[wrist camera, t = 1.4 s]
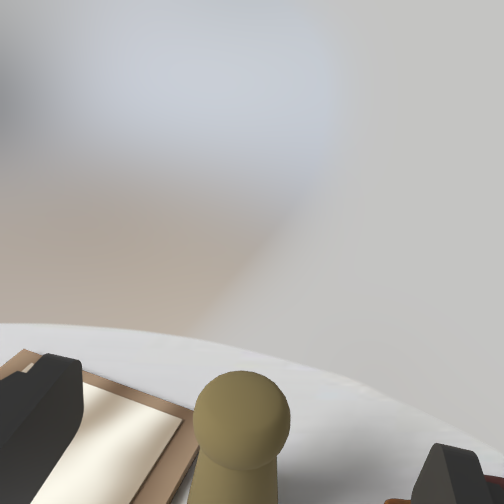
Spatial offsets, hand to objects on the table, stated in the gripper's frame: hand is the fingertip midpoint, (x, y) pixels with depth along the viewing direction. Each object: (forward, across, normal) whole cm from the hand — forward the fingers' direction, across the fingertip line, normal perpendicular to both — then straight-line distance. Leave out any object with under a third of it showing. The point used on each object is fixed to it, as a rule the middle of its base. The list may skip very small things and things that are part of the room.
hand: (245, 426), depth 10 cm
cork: (+11, 0, +20) cm, 23 cm away
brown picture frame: (+13, +13, +20) cm, 27 cm away
